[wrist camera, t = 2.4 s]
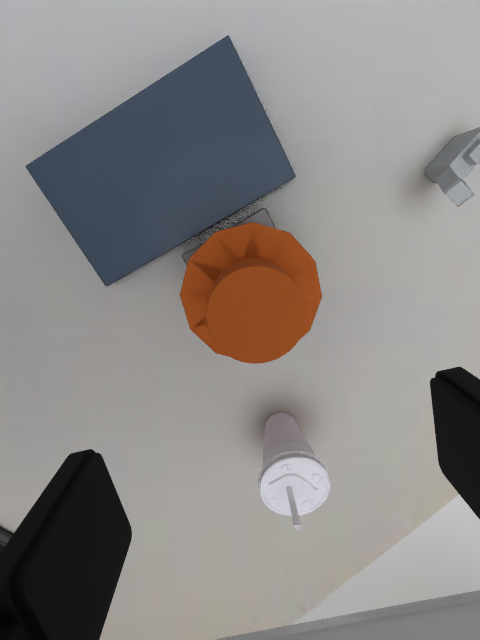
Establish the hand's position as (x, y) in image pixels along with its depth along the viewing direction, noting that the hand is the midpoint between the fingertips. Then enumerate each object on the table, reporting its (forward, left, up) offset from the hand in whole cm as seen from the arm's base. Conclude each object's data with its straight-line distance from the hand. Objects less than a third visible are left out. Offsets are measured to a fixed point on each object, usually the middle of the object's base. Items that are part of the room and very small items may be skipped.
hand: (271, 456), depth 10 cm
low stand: (-1, +12, -28) cm, 30 cm away
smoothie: (-4, -17, -28) cm, 33 cm away
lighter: (+21, 0, -28) cm, 35 cm away
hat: (+1, +1, -17) cm, 17 cm away
